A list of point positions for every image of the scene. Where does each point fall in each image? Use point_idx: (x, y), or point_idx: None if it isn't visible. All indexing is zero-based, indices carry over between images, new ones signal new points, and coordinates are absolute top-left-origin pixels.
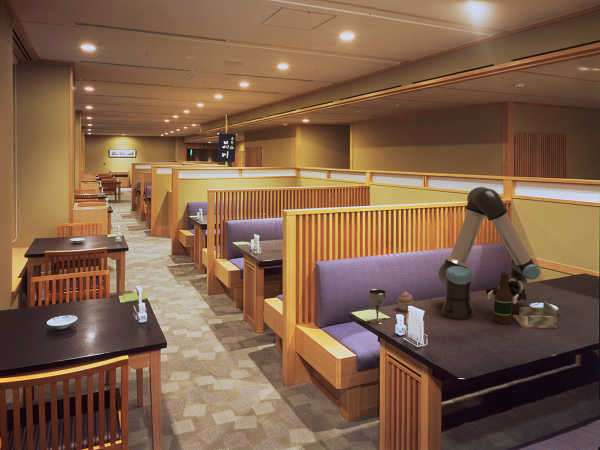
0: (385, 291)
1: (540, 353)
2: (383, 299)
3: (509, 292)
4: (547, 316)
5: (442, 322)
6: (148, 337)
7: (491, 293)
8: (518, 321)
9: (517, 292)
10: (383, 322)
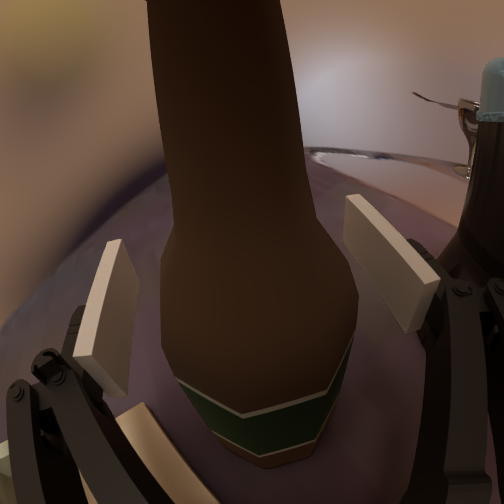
0: (477, 105)
1: (84, 249)
2: (461, 115)
3: (166, 256)
4: (6, 448)
5: (422, 235)
6: (456, 108)
7: (378, 245)
8: (177, 451)
9: (101, 465)
10: (458, 172)
